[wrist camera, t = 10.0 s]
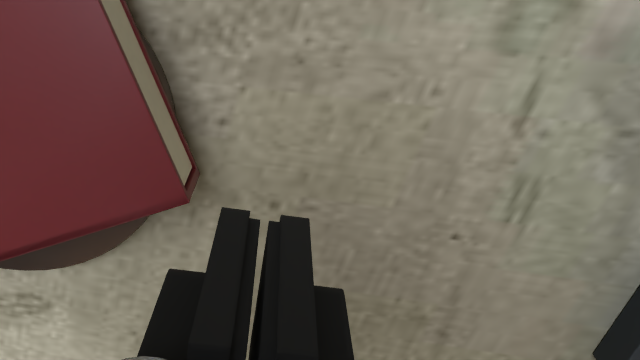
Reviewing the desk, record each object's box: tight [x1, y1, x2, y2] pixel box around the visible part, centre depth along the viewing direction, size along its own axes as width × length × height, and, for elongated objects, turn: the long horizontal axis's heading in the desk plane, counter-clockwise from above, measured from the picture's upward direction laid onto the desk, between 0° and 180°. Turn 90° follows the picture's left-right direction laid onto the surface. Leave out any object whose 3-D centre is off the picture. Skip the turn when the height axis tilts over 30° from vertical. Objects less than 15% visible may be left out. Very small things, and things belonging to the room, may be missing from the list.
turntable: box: [0, 28, 175, 271], centre depth 25 cm, size 14×14×1 cm
